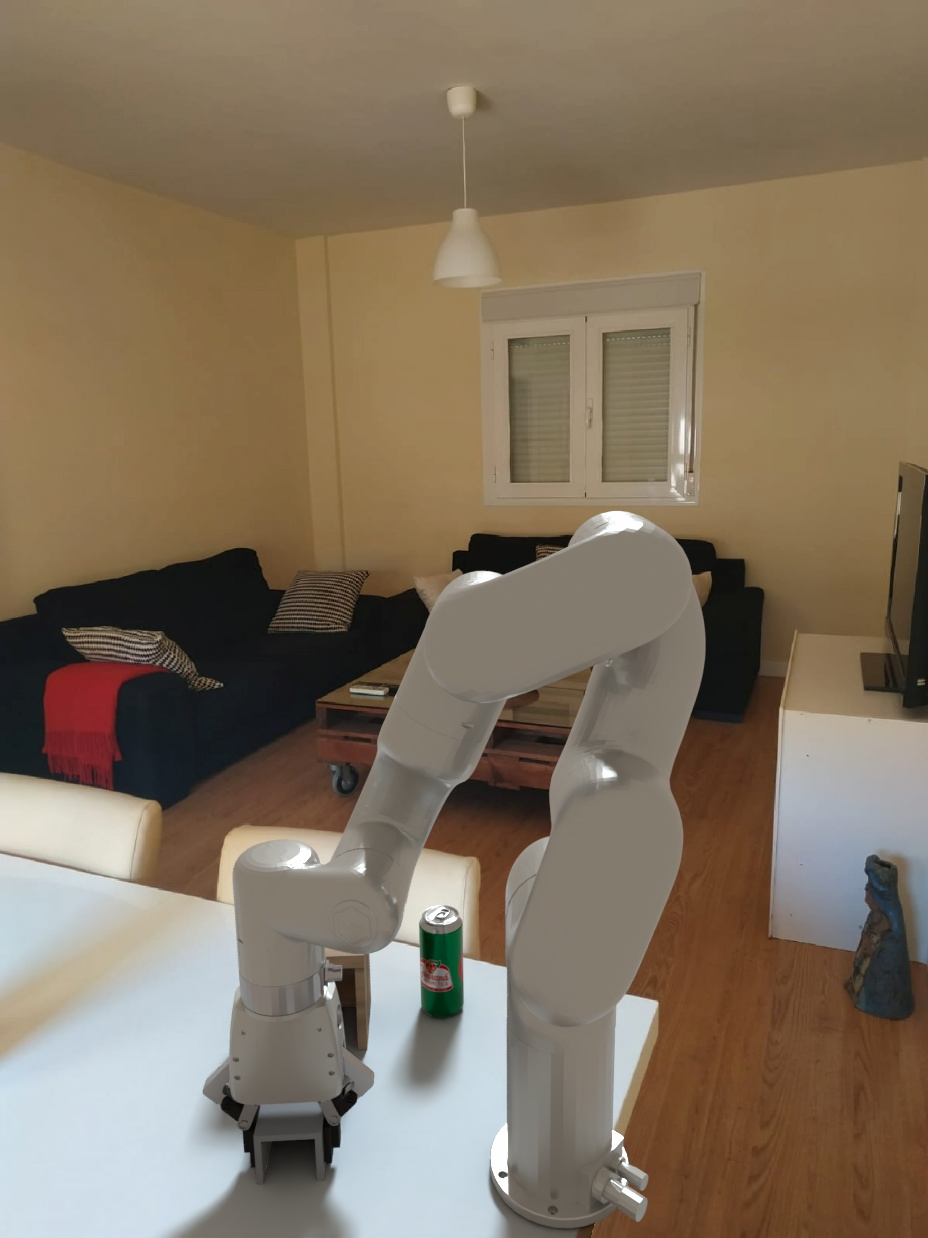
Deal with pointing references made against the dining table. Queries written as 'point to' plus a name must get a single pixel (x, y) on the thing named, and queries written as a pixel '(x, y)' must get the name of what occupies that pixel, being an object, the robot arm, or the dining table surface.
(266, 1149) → the grey u-shaped piece
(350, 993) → the shelf
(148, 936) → the dining table surface
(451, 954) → the soda can
